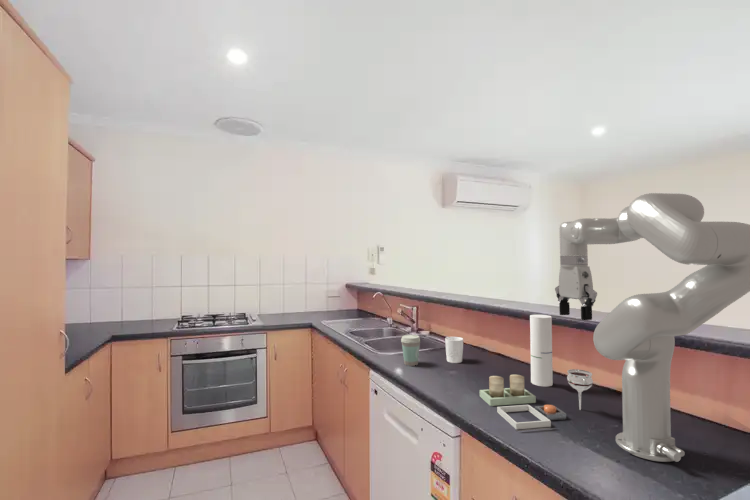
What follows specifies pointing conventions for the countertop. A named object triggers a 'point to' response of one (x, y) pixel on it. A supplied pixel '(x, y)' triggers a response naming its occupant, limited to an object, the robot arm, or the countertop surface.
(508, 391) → the pale green flat tray
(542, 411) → the button housing
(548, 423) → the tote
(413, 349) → the coffee cup
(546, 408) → the button
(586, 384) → the wineglass
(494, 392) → the cylinder
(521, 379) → the cylinder
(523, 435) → the countertop surface
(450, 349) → the white cup
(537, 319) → the cylindrical container
